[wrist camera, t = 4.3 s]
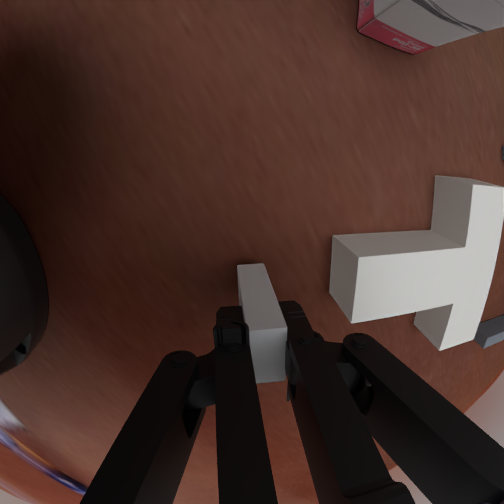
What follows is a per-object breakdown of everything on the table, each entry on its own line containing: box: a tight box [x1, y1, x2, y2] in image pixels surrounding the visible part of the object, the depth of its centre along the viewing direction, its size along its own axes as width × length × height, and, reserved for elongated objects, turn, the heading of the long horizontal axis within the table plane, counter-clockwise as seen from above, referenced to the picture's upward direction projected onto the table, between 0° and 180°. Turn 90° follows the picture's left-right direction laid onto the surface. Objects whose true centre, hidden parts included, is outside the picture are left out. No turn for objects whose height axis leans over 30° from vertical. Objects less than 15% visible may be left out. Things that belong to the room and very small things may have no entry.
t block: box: [329, 175, 504, 351], centre depth 18 cm, size 12×12×4 cm
